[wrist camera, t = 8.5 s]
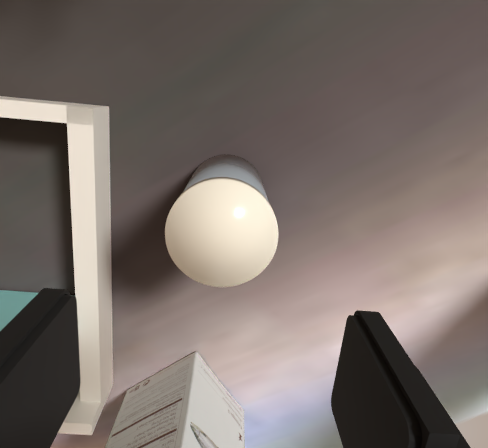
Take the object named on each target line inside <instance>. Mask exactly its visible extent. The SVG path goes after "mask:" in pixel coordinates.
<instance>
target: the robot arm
mask: <svg viewBox="0 0 488 448" xmlns="http://www.w3.org/2000/svg"><path fill="white" fill-rule="evenodd" d="M80 381H81V379H80V358H79V337H78V316H77V300H76V297H75V296H70V293H69V291H68V290H64V289H50V288H44V289H42V290H41V291H40V292H39V293H38V294H37V295H36V296H35V297H34V298H33V299H32V300H31V301H30V302H29V303H28V304H27V305H26V306H25V307H24V308H23V309H22V310H21V311H20V312H19V313H18V314H17V315H16V316H15V317H14V318H13V319H12V320H11V321H10V322H9V323H8V324H7V325H6V326H5V327H4V328H3V329H2V330H1V331H0V448H50V446H51V445H52V443H53V441H54V439H55V437H56V435H57V433H58V431H59V429H60V428H61V426H62V424H63V422H64V420H65V418H66V416H67V414H68V412H69V411H70V409H71V407H72V405H73V403H74V401H75V399H76V397H77V395H78V392H79V389H80ZM331 406H332V412H333V415H334V418H335V422H336V425H337V428H338V431H339V435H340V438H341V441H342V444H343V448H470V446H469V445H468V443H467V442H466V440H465V439H464V437H463V436H462V434H461V433H460V431H459V430H458V428H457V427H456V425H455V424H454V422H453V421H452V419H451V418H450V416H449V415H448V413H447V412H446V410H445V409H444V407H443V406H442V404H441V403H440V401H439V400H438V398H437V397H436V395H435V394H434V392H433V391H432V389H431V388H430V386H429V385H428V383H427V382H426V380H425V379H424V377H423V376H422V374H421V373H420V371H419V370H418V369H417V368H416V366H414V364H413V363H412V361H411V360H410V358H409V357H408V355H407V354H406V352H405V351H404V349H403V348H402V346H401V345H400V343H399V342H398V340H397V338H396V337H395V335H394V334H393V332H392V331H391V329H390V328H389V326H388V325H387V323H386V322H385V320H384V319H383V317H382V316H381V314H380V313H379V312H371V311H356V312H355V314H354V316H351V315H349V316H348V318H347V322H346V327H345V332H344V337H343V342H342V347H341V352H340V357H339V362H338V366H337V371H336V376H335V381H334V386H333V391H332V397H331Z"/></svg>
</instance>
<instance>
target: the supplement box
mask: <svg viewBox="0 0 488 448" xmlns="http://www.w3.org/2000/svg"><path fill="white" fill-rule="evenodd" d="M105 448H245V439H244V410H243V408H242V407H241V406H240V405H239V404H238V403H237V402H236V401H235V399H234V398H233V397H232V396H231V395H230V394H229V392H228V391H227V390H226V389H225V388H224V386H223V385H222V384H221V383H220V381H219V380H218V379H217V377H216V376H215V375H214V374H213V372H212V371H211V370H210V368H209V367H208V366H207V364H206V363H205V362H204V360H203V359H202V358H201V356H200V355H199V354H198V352H194V353H192V354H190V355H188V356H186V357H185V358H183V359H181V360H179V361H178V362H176V363H174V364H172V365H170V366H169V367H167V368H165V369H163V370H162V371H160V372H158V373H156V374H154V375H153V376H151V377H149V378H147V379H146V380H144V381H142V382H140V383H139V384H137V385H135V386H133V387H132V388H130V389H128V390H127V392H126V395H125V397H124V400H123V402H122V405H121V407H120V410H119V412H118V415H117V417H116V420H115V422H114V425H113V428H112V430H111V433H110V436H109V438H108V441H107V443H106V446H105Z"/></svg>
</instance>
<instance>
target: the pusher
mask: <svg viewBox="0 0 488 448" xmlns="http://www.w3.org/2000/svg"><path fill="white" fill-rule="evenodd" d="M37 294H38V293H33V292H19V291H5V290H0V331H1V330H2V329H3V328H4V327H5V326H6V325H7V324H8V323H9V322H10V321H11V320H12V319H13V318H14V317H15V316H16V315H17V314H18V313H19V312H20V311H21V310H22V309H23V308H24V307H25V306H26V305H27V304H28V303H29V302H30V301H31V300H32V299H33V298H34V297H35V296H36V295H37ZM70 296H75V295H70Z"/></svg>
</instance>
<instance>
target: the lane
mask: <svg viewBox="0 0 488 448" xmlns="http://www.w3.org/2000/svg"><path fill="white" fill-rule="evenodd" d="M0 117H4V118H15V119H26V120H37V121H48V122H59V123H67V135H68V155H69V176H70V197H71V217H72V238H73V258H74V279H75V297H76V300H77V316H78V337H79V358H80V379H81V381H80V389H79V392H78V395H77V397H76V399H75V401H74V403H73V405H72V407H71V409H70V411H69V412H68V414H67V416H66V418H65V420H64V422H63V424H62V426H61V428H60V429H59V431H58V433H61V434H79V435H92V434H93V431H94V429H95V427H96V424H97V422H98V420H99V417H100V415H101V413H102V410H103V408H104V406H105V403H106V401H107V398H108V396H109V394H110V391H111V389H112V387H113V332H112V268H111V204H110V140H109V106H99V105H88V104H77V103H67V102H56V101H46V100H35V99H24V98H14V97H3V96H0Z"/></svg>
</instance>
